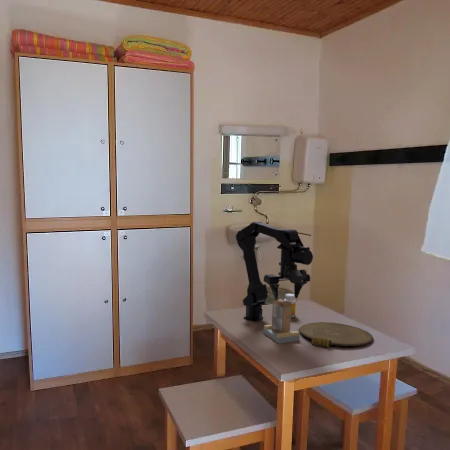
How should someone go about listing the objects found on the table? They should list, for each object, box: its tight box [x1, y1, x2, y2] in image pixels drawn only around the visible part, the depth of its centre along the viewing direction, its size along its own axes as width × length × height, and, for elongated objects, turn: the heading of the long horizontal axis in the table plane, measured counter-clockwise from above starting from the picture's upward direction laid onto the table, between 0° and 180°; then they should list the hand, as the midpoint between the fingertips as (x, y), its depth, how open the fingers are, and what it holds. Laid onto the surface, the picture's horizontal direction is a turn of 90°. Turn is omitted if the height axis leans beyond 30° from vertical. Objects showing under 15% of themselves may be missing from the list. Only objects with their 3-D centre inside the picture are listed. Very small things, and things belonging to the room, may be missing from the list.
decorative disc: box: [298, 321, 374, 348], centre depth 172 cm, size 29×3×30 cm
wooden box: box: [271, 298, 292, 333], centre depth 168 cm, size 6×4×12 cm
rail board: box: [262, 324, 300, 344], centre depth 169 cm, size 12×9×3 cm
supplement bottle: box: [283, 293, 297, 318], centre depth 195 cm, size 5×5×10 cm
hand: (286, 299), depth 175 cm, fingers open, 9 cm apart
